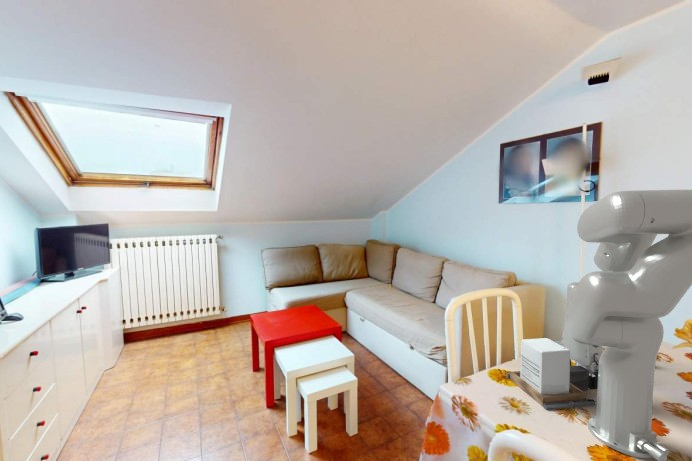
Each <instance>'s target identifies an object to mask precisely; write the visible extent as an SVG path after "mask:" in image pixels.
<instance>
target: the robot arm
mask: <svg viewBox="0 0 692 461" xmlns="http://www.w3.org/2000/svg"><path fill="white" fill-rule="evenodd" d="M577 221H578V222H577V226H576V228H577V229H576V230H577V231H576V232H577V235H578V236H579V238H580V239H581V240H582V241H584V242H585V243H599V245H598V247H597V249H596V252H595V254H594V257H593V262H594V264H595V266H596V267H597V268H598V269H599V270H600V271H592V272H589V273H587V274H585V275H584V276H583V277H582V278H581V279H580V280H579V282H574V281H573V282H571V283H569V284H568V285H567V290H566V310H565V311H566V312H565V318H564V326H563V331H562V334H561V335H562V336H561V340H556V341H554V342H555V343H557V344H559V345H561V346H563V347H565V348H567V349H569V350H570V366H572V360H573V361H574V362H575V363H576V362H578V363H580V364H582V365H584V366H586V367H587V369H588V371H589V372H590V374H589V376H588V390H592V391H593V390H597V393H596V412H595V413H596V415H594V416H590V418H588V420H587V428H588V430H589V432H590V433H591V435H593V437H595V438H596V439H597V440H598V441H600V442H601V443H603V444H604V445H605V446H607V447H609V448H610V449H613V450H615V451H617V452H619V453H621V454H624V455H627V456H629V457H635V458H638V459H639V458H640V459H656V460H657V461H667V459H668V455H669V454H670V450H669V449H668V448H667V447H665V446H664V445H662V444H660V443H659V442H658V441H657V432H655V431H654V430H652V419H653V418H652V416H653V401H654V399H653V398H654V383H655V372H656V370H655V369H656V362H657V357H658V354H659V350H660V349H661V345H662V343H663V338H664V327H663V323H662V322H661V320H660V318H663V317H667V316H668V315H669V314H670V313H671V312H672V311H673V310H674V309H675V308H676V306H677V305H678V304H679V302H680V301H681V300H682V299H683V297H684V296H685V294H686V293H687V292H688V290H689V289H690V288H691V286H692V189H657V190H655V189H653V190H652V189H650V190H649V189H647V190H621V191H615V192H612V193H609V194H608V195H606V196H603V197H602V198H601V199H599V200H597V201H596V202H594V203H593V204H591V205H589V206H588V207H587V208H586V209H584V211H583V212H582V213H581V215H580V216H579V219H578V220H577ZM657 235H667V236H666V237H665V238H663V239H661V240H659V241H657V242H655V243H654V240H655V239H656V237H657ZM603 347H606V348H605V349H603ZM591 364H592V365H591ZM592 367H594V369H595V370H596V371H595V372H594V370H593V368H592Z"/></svg>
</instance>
